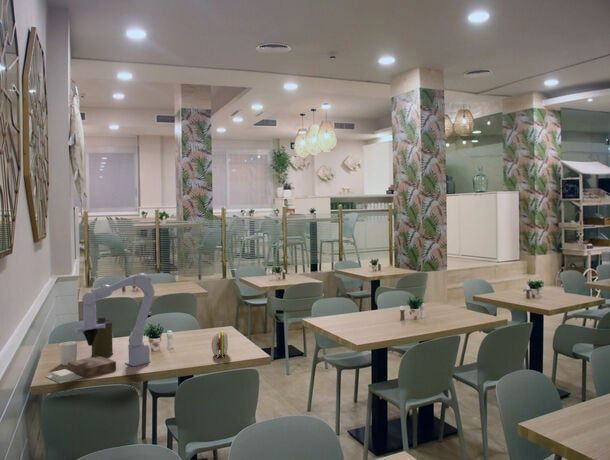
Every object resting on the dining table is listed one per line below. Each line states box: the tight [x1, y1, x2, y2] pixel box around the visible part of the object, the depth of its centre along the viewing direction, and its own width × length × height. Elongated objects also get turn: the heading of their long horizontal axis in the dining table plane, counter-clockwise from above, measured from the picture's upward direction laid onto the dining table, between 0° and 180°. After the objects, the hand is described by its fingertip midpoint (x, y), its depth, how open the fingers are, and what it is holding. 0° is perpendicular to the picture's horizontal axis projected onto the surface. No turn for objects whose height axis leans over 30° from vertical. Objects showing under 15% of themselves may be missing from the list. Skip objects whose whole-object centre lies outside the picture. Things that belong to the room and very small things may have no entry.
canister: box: [90, 315, 114, 358], centre depth 267 cm, size 11×10×20 cm
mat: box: [45, 374, 84, 384], centre depth 231 cm, size 10×14×1 cm
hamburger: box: [211, 329, 229, 359], centre depth 266 cm, size 12×8×12 cm
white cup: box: [59, 340, 78, 366], centre depth 253 cm, size 8×8×10 cm
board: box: [67, 356, 117, 379], centre depth 241 cm, size 15×16×4 cm
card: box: [51, 368, 75, 381], centre depth 231 cm, size 6×9×2 cm, turn 50°
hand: (90, 345), depth 247 cm, fingers closed
